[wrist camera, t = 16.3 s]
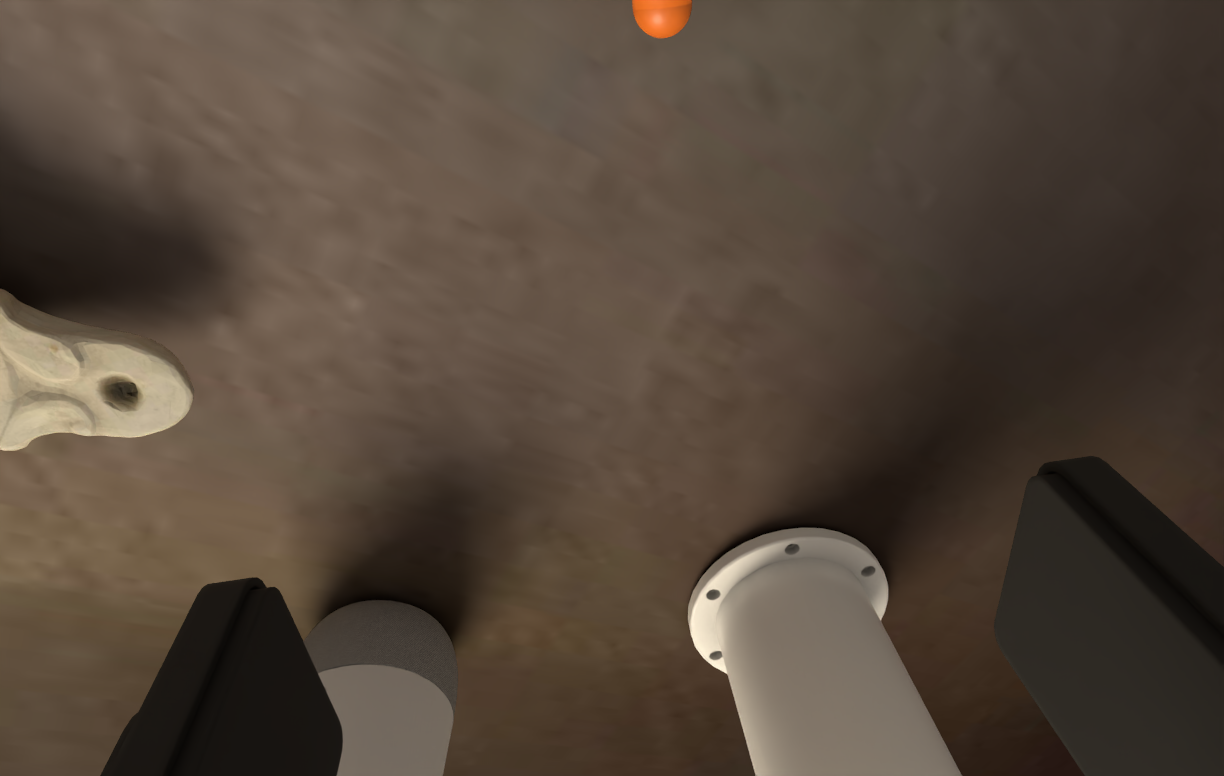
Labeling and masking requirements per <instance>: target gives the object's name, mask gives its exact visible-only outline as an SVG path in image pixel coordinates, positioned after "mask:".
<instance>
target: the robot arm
mask: <svg viewBox="0 0 1224 776" xmlns="http://www.w3.org/2000/svg"><path fill="white" fill-rule="evenodd" d="M887 602H888V583H887V579H886V576H885V573H884V571H883V569H882V567H881V566H880V564H879V562H878V560H877V558H876V557H875V556H874V555H873V553H872V552H871V551H870V550H869V549H868V548H867V547H866V546H865V545H863V544H862V543H861V542H859V541H858V540H856V539H855V538H853V537H850V536H848V535H846V534H843V533H841V532H837V531H833V530H828V529H823V528H794V529H785V530H780V531H776V532H772V533H768V534H764V535H761V536H759V537H756V538H754V539H751V540H749V541H747V542H744V543H742V544H741V545H739V546H737V547H736V548H734V549H732V550H731V551H729V552H727V553H726V554H725V555H723V556H722V557H721V558H720V559H719V560H717V561H716V562H715V563H714V564H712V566H711V567H710V568H709V569H708V570H707V571H706V572H705V574H704V575H703V576H702V577H701V578H700V580H699V582H698V584H697V585H696V587H695V589H694V590H693V593H692V596H691V599H690V602H689V606H688V622H689V627H690V632H691V636H692V639H693V642H694V645H695V647H696V649H697V650H698V651H699V653H700V654H701V656H702V657H703V658H704V659H705V660H706V661H708V662H709V663H710V664H711V665H712V666H714V667H715V668H717V669H719V670H721V671H723V672H725V673H727V674H728V677H729V681H730V684H731V688H732V692H733V695H734V699H735V703H736V706H737V710H738V713H739V717H740V721H741V724H742V728H743V731H744V735H745V739H746V742H747V746H748V749H749V753H750V757H751V760H752V764H753V767H754V771H755V775H756V776H962V775H961V773H960V771H959V770H958V768H957V766H956V764H955V762H954V760H953V758H952V756H951V754H950V752H949V750H948V749H947V747H946V745H945V743H944V741H943V739H942V737H941V735H940V733H939V731H938V730H937V728H936V726H935V724H934V722H933V720H932V718H931V716H930V714H929V712H928V710H927V709H926V707H925V705H924V703H923V701H922V699H921V697H920V695H919V693H918V691H917V689H916V688H915V686H914V684H913V682H912V680H911V678H910V676H909V674H908V672H907V670H906V668H905V667H904V665H903V663H902V661H901V659H900V657H899V655H898V653H897V651H896V649H895V647H894V646H893V644H892V642H891V640H890V638H889V636H888V634H887V632H886V630H885V628H884V626H883V625H882V623H881V619H882V617H883V615H884V613H885V610H886V606H887ZM994 629H995V636H996V640H997V642H998V645H999V647H1000V649H1001V651H1002V653H1003V654H1004V656H1005V657H1006V659H1007V660H1008V662H1009V663H1010V665H1011V666H1012V668H1013V669H1014V671H1015V672H1016V674H1017V675H1018V677H1019V678H1020V680H1021V681H1022V683H1023V684H1024V686H1025V687H1026V689H1027V690H1028V692H1029V693H1030V695H1031V696H1032V697H1033V699H1034V700H1035V702H1036V703H1037V705H1038V706H1039V708H1040V709H1041V711H1042V712H1043V714H1044V715H1045V717H1046V718H1047V720H1048V721H1049V723H1050V724H1051V726H1052V727H1053V729H1054V730H1055V732H1056V733H1057V735H1058V736H1059V738H1060V739H1061V741H1062V742H1063V744H1064V745H1065V747H1066V748H1067V750H1068V751H1069V753H1070V754H1071V755H1072V757H1073V758H1074V760H1075V761H1076V763H1077V764H1078V766H1079V767H1080V769H1081V770H1082V772H1083V773H1084V775H1085V776H1224V567H1223V566H1222V565H1221V564H1219V563H1218V562H1217V561H1216V560H1215V559H1214V558H1213V557H1212V556H1210V555H1209V554H1208V553H1207V552H1206V551H1205V550H1204V549H1203V548H1201V547H1200V546H1199V545H1198V544H1197V543H1196V542H1195V541H1194V540H1193V539H1191V538H1190V537H1189V536H1188V535H1187V534H1186V533H1185V532H1184V531H1182V530H1181V529H1180V528H1179V527H1178V526H1177V525H1176V524H1175V523H1174V522H1172V521H1171V520H1170V519H1169V518H1168V517H1167V516H1166V515H1165V514H1163V513H1162V512H1161V511H1160V510H1159V509H1158V508H1157V507H1156V506H1155V505H1153V504H1152V503H1151V502H1150V501H1149V500H1148V499H1147V498H1146V497H1144V496H1143V495H1142V494H1141V493H1140V492H1139V491H1138V490H1137V489H1136V488H1134V487H1133V486H1132V485H1131V484H1130V483H1129V482H1128V481H1127V480H1125V479H1124V478H1123V477H1122V476H1121V475H1120V474H1119V473H1118V472H1117V471H1115V470H1114V469H1113V468H1112V467H1111V466H1110V465H1109V464H1108V463H1106V462H1105V461H1103V460H1102V459H1100V458H1098V457H1094V456H1088V457H1082V458H1075V459H1068V460H1061V461H1054V462H1049V463H1045V464H1044V465H1043V466H1042V467H1041V468H1040V469H1039V472H1038V474H1037V476H1034V477H1031V478H1030V479H1029V481H1028V483H1027V486H1026V490H1025V494H1024V498H1023V503H1022V507H1021V511H1020V515H1019V520H1018V524H1017V528H1016V532H1015V537H1014V541H1013V545H1012V549H1011V554H1010V558H1009V562H1008V567H1007V571H1006V575H1005V579H1004V584H1003V588H1002V592H1001V596H1000V601H999V605H998V609H997V614H996V618H995V624H994ZM342 748H343V732H342V726H341V723H340V720H339V718H338V716H337V714H336V712H335V709H334V707H333V705H332V703H331V701H330V699H329V696H328V694H327V692H326V690H325V688H324V686H323V683H322V681H321V679H320V677H319V675H318V673H317V670H316V668H315V666H314V664H313V662H312V660H311V657H310V655H309V653H308V651H307V649H306V647H305V644H304V642H303V640H302V638H301V636H300V634H299V631H298V629H297V627H296V625H295V623H294V621H293V618H292V616H291V614H290V612H289V610H288V608H287V606H286V603H285V601H284V599H283V597H282V595H281V593H280V591H279V590H278V589H277V588H275V587H269V588H266V586H265V584H264V583H263V581H262V580H260V579H259V578H247V579H240V580H233V581H226V582H219V583H212V584H207V585H206V586H204V587H203V588H202V589H201V590H200V592H199V593H198V595H197V597H196V599H195V601H194V603H193V605H192V607H191V609H190V611H189V613H188V615H187V617H186V619H185V621H184V623H183V625H182V627H181V629H180V631H179V633H178V635H177V637H176V639H175V641H174V643H173V645H172V647H171V649H170V651H169V653H168V655H167V657H166V659H165V661H164V663H163V665H162V667H161V669H160V670H159V672H158V674H157V676H156V678H155V680H154V682H153V684H152V686H151V688H150V690H149V692H148V694H147V696H146V698H145V700H144V702H143V704H142V706H141V708H140V710H139V712H138V713H137V714H136V715H134V716H133V717H132V718H131V720H130V722H129V723H128V725H127V726H126V728H125V729H124V731H123V732H122V734H121V736H120V738H119V740H118V742H117V744H116V746H115V748H114V750H113V752H112V754H111V756H110V758H109V760H108V762H107V764H106V766H105V768H104V770H103V772H102V774H101V776H337V772H338V768H339V764H340V759H341V754H342Z"/></svg>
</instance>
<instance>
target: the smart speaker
mask: <svg viewBox="0 0 1224 776" xmlns="http://www.w3.org/2000/svg"><path fill="white" fill-rule="evenodd" d="M304 644H305V647H306V649H307V651H308V653H309V655H310V657H311V660H312V662H313V664H314V666H315V668H316V670H317V673H318V675H319V677H320V679H321V681H322V683H323V686H324V688H325V690H326V692H327V694H328V696H329V699H330V701H331V703H332V705H333V707H334V709H335V712H336V714H337V716H338V718H339V720H340V723H341V726H342V732H343V748H342V754H341V759H340V764H339V768H338V772H337V776H443V771H444V766H445V761H446V756H447V750H448V745H449V740H450V735H451V730H452V725H453V719H454V712H455V705H456V698H457V686H458V670H457V661H456V656H455V652H454V648H453V645H452V642H451V640H450V638H449V636H448V634H447V633H446V631H445V630H444V628H443V627H442V626H441V624H440V623H439V622H438V621H437V620H436V619H435V618H433V617H432V616H431V615H429V614H428V613H426V612H425V611H423V610H421V609H419V608H417V607H414V606H412V605H409V604H405V603H402V602H397V601H391V600H368V601H361V602H356V603H353V604H350V605H347V606H344V607H342V608H340V609H338V610H336V611H334V612H332V613H331V614H329V615H328V616H327V617H325V618H324V619H323V620H322V621H321V622H319V623H318V624H317V625H316V626H315V628H314V629H313V630H312V631H311V632H310V633H309V635H308V636H307V637H306V639H305V640H304Z"/></svg>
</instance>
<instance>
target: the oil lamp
mask: <svg viewBox="0 0 1224 776" xmlns="http://www.w3.org/2000/svg"><path fill="white" fill-rule="evenodd" d="M193 398H194V388H193V386H192V383H191V381H190V378H189V376H188V374H187V372H186V370H185V368H184V367H183V365H182V364H181V362H180V361H179V360H178V358H177V357H176V356H175V355H174V354H173V353H172V352H171V351H170V350H168V349H167V348H166V347H164V346H163V345H161V344H159V343H157V342H156V341H154V340H151V339H148V338H145V337H142V336H138V335H135V334H132V333H127V332H122V331H116V330H110V329H105V328H100V327H95V326H90V325H85V324H81V323H77V322H73V321H69V320H65V319H62V318H59V317H55V316H52V315H50V314H47V313H44V312H42V311H39V310H37V309H35V308H33V307H30V306H28V305H26V304H24V303H22V302H20V301H18V300H17V299H16V298H15V297H14V296H13V295H12V294H10V293H9V292H7V291H5V290H3V289H0V450H18V449H22V448H24V447H26V446H27V445H28V444H29V443H30V441H32V440H33V439H35V438H37V437H39V436H42V435H45V434H51V433H57V432H72V433H76V434H79V435H85V436H95V435H104V436H112V437H140V436H145V435H148V434H152V433H155V432H159V431H162V430H165V429H167V428H169V427H171V426H173V425H175V424H177V423H178V422H179V421H180V420H181V419H182V418H184V417H185V415H186V414H187V412H188V411H189V409H190V407H191V404H192V401H193Z"/></svg>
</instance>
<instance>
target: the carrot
mask: <svg viewBox="0 0 1224 776" xmlns="http://www.w3.org/2000/svg"><path fill="white" fill-rule="evenodd" d="M632 4H633V13H634V17H635V19H636V22H637V23H638V25H639V27H640V28H641V29H642V30H643V31H644V32H645V33H647V34H648V35H650V36H653V37H656V38H667V37H670V36H673V35H675V34H676V33H678V32H679V31H680V30H681V29H682V28H683V27H684V26H685V25H686V23H687V21H688V19H689V17H690V14H691V9H692V0H632Z"/></svg>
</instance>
